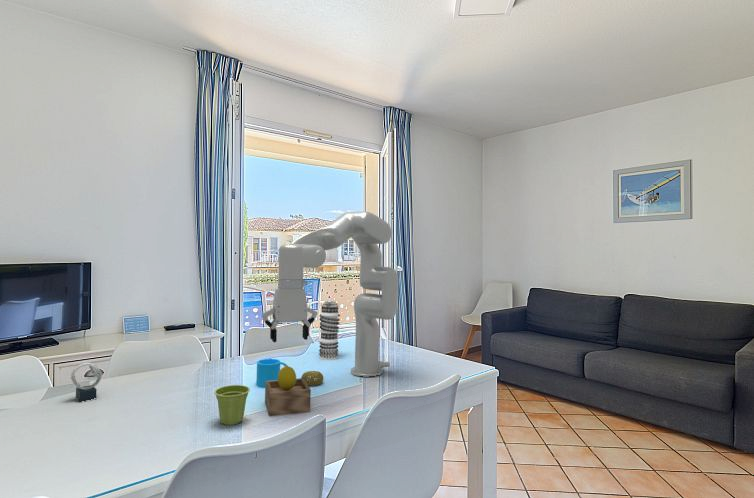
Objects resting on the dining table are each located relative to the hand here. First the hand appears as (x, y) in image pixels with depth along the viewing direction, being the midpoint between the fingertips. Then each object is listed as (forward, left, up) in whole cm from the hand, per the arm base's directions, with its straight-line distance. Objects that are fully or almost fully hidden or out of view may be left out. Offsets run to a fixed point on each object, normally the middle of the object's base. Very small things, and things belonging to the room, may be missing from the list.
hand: (289, 340), depth 131 cm
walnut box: (0, 0, -21) cm, 21 cm away
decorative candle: (-32, -52, -21) cm, 64 cm away
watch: (+56, -30, -21) cm, 67 cm away
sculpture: (-14, -19, -21) cm, 31 cm away
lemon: (0, 0, -16) cm, 16 cm away
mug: (-1, -24, -21) cm, 32 cm away
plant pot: (+17, +5, -21) cm, 27 cm away
